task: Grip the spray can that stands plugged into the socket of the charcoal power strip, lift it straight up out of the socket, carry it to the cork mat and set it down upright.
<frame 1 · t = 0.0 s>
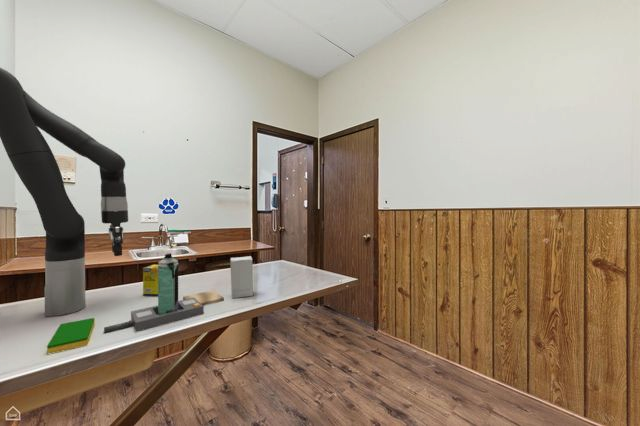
hand: (117, 253, 92), 17 cm above the table, tool pointing down, fingers open, 8 cm apart
supplement box: (155, 293, 100), on the table
dish sponge: (73, 339, 67), on the table
power strip: (168, 316, 80), on the table
skincare box: (241, 295, 100), on the table
spray can: (168, 317, 80), resting in power strip
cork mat: (203, 299, 94), on the table
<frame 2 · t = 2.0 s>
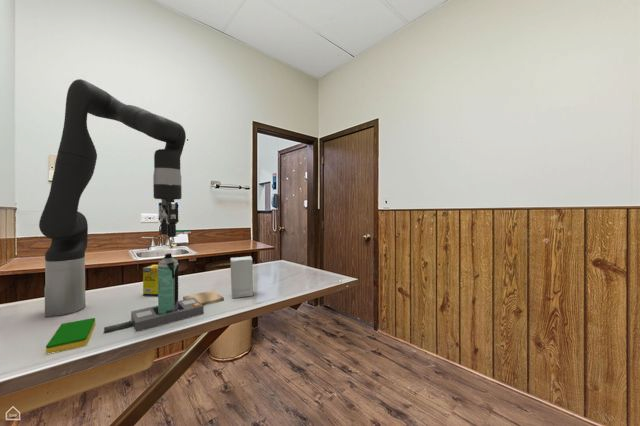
hand: (168, 235, 79), 26 cm above the table, tool pointing down, fingers open, 8 cm apart
nothing on the table moved.
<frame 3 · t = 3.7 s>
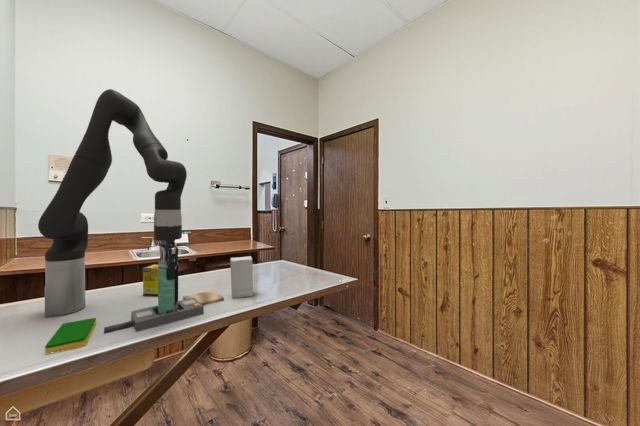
hand: (168, 277, 80), 12 cm above the table, tool pointing down, fingers closed on spray can, 5 cm apart
spray can: (168, 317, 80), resting in power strip, touching gripper
everything else where it was.
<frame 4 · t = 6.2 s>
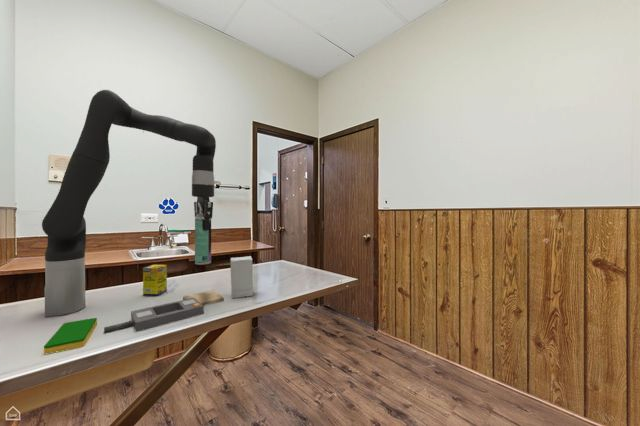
hand: (203, 229, 93), 26 cm above the table, tool pointing down, fingers closed on spray can, 5 cm apart
spray can: (203, 263, 94), point 14 cm above the table, touching gripper
everything else where it was.
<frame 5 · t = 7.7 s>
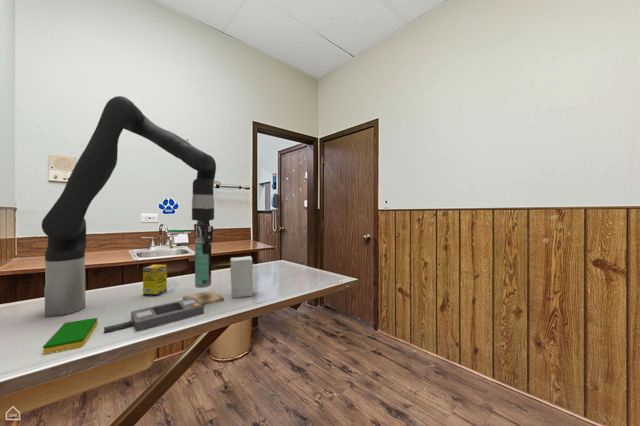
hand: (203, 252, 94), 18 cm above the table, tool pointing down, fingers closed on spray can, 5 cm apart
spray can: (203, 286, 94), point 5 cm above the table, touching gripper
everything else where it was.
when the fingers open (14 cm above the table, at t = 9.0 s): spray can stays where it is, resting on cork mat.
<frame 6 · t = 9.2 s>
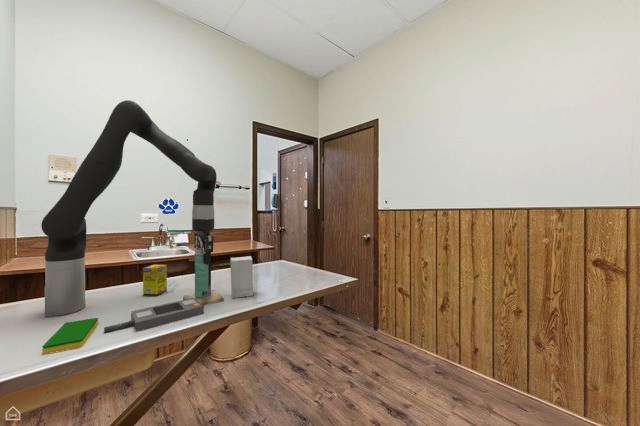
hand: (203, 261, 94), 14 cm above the table, tool pointing down, fingers open, 7 cm apart
spray can: (203, 297, 94), point 1 cm above the table, touching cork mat
everything else where it was.
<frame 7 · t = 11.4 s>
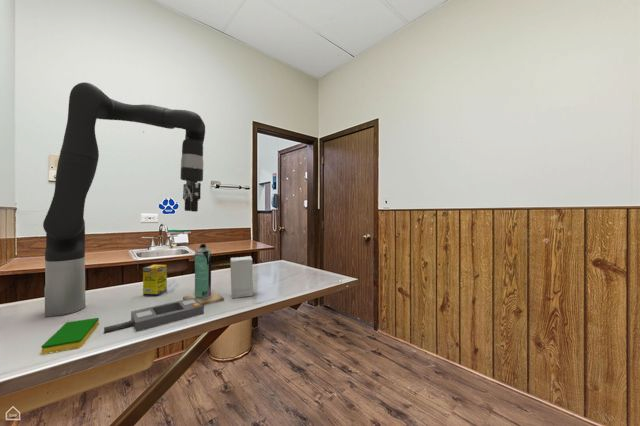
hand: (190, 211, 95), 33 cm above the table, tool pointing down, fingers open, 8 cm apart
nothing on the table moved.
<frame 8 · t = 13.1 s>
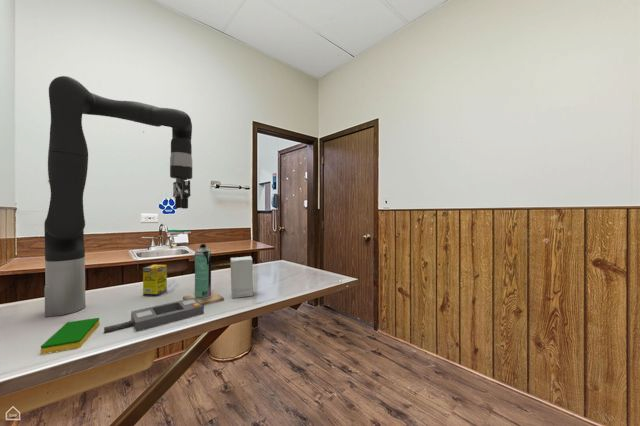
hand: (181, 208, 97), 34 cm above the table, tool pointing down, fingers open, 8 cm apart
nothing on the table moved.
at the end: spray can inside the target area on the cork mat (0.1 cm from its centre), point 0.8 cm above the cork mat's base; spray can tilted 0°; the gripper is holding nothing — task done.
